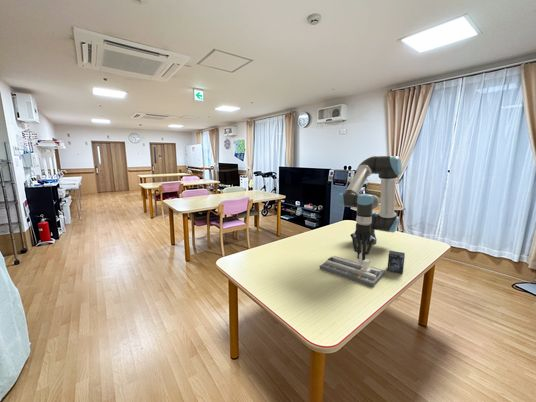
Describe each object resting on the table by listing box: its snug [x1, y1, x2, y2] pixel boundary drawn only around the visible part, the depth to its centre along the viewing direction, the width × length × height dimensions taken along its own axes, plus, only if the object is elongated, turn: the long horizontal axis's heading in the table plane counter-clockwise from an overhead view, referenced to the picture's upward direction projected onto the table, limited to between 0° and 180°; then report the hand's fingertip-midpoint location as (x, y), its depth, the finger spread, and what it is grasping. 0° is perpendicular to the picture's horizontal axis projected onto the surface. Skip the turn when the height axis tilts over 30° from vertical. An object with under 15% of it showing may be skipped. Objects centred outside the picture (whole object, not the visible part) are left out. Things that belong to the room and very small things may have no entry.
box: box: [386, 250, 406, 275], centre depth 134 cm, size 8×6×11 cm
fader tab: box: [361, 258, 371, 273], centre depth 128 cm, size 4×4×7 cm
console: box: [319, 255, 386, 288], centre depth 134 cm, size 18×30×4 cm, turn 48°
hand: (360, 264), depth 130 cm, fingers closed
